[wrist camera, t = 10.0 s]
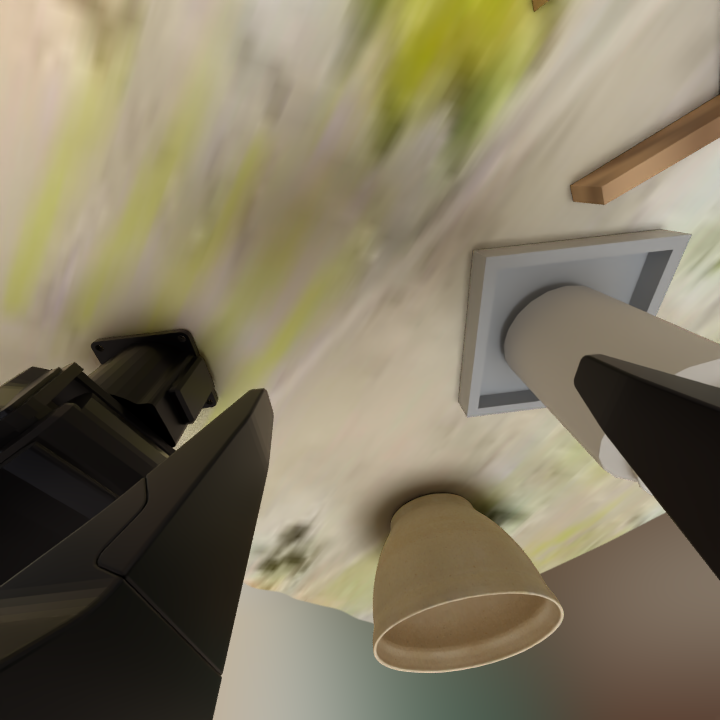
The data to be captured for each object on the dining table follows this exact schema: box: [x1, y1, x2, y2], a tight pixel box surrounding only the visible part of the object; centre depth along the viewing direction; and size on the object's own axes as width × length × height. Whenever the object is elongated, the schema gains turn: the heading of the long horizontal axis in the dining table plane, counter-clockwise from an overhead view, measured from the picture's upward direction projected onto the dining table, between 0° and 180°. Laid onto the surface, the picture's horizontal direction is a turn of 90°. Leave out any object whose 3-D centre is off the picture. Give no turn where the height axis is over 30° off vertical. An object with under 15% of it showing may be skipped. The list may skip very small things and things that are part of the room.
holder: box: [532, 0, 720, 205], centre depth 14 cm, size 9×10×2 cm
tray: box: [458, 229, 692, 417], centre depth 22 cm, size 13×13×2 cm
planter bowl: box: [373, 493, 564, 673], centre depth 30 cm, size 16×16×11 cm
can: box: [504, 285, 720, 496], centre depth 18 cm, size 8×8×12 cm
